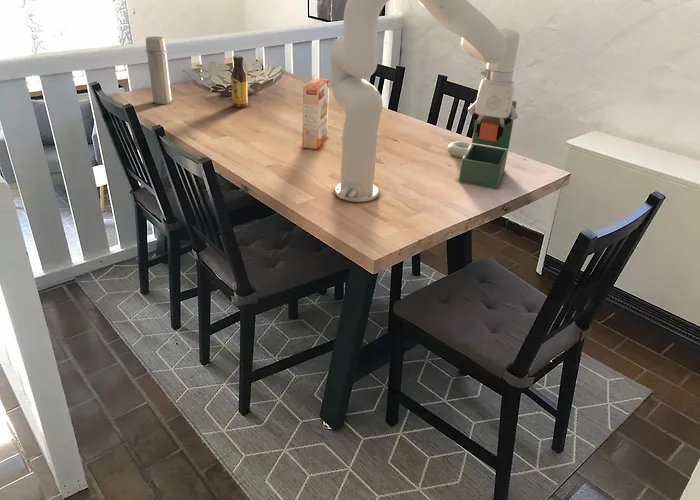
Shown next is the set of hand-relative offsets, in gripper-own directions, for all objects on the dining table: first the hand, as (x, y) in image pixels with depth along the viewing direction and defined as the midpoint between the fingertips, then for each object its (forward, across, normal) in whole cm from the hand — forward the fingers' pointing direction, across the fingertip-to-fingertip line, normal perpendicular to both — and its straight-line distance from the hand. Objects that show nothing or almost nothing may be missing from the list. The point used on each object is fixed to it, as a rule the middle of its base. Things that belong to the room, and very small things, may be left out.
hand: (488, 136), depth 172 cm
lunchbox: (+14, 0, +2) cm, 14 cm away
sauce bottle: (+14, -104, +29) cm, 109 cm away
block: (0, 0, 0) cm, 0 cm away
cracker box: (+14, -59, +4) cm, 61 cm away
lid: (-2, 0, +7) cm, 8 cm away
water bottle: (+13, -133, +17) cm, 135 cm away
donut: (+14, -10, +18) cm, 25 cm away
